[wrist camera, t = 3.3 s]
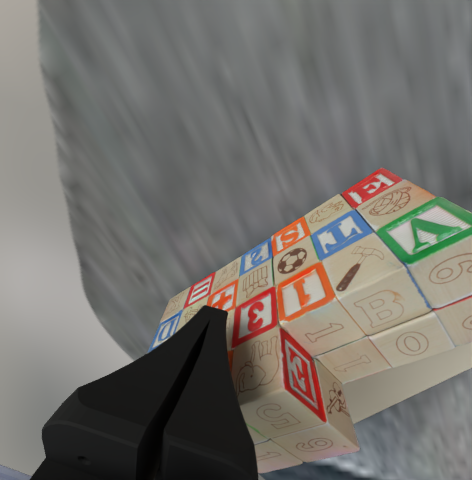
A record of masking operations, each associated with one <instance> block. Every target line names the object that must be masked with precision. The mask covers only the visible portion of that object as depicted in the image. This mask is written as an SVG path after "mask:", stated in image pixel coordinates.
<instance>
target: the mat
mask: <svg viewBox="0 0 472 480" xmlns="http://www.w3.org/2000/svg"><path fill="white" fill-rule="evenodd" d="M470 368H472V342H470V343H467V344H464V345H460V346H456V347H455V348H453V349H452V350H449V351H446V352H442V353H439V354H436V355H433V356H430V357H427V358H423V359H420V360H417V361H414V362H411V363H408V364H405V365H402V366H399V367H396V368H389V369H387V370H384V371H381V372H378V373H375V374H372V375H369V376H366V377H363V378H361V379H358V380H355V381H351V382H348V383H345V384H343V385H342V386H343V389H344V393H345V397H346V401H347V404H348V408H349V411H350V415H351V418H352V422H353V424H355V423H357V422H359V421H361V420H363V419H365V418H367V417H369V416H371V415H373V414H375V413H378V412H380V411H382V410H384V409H386V408H388V407H390V406H392V405H394V404H396V403H399V402H401V401H403V400H405V399H407V398H409V397H411V396H413V395H415V394H417V393H420V392H422V391H424V390H426V389H428V388H430V387H432V386H434V385H436V384H438V383H441V382H443V381H445V380H447V379H449V378H451V377H453V376H455V375H457V374H459V373H461V372H464V371H466V370H468V369H470Z"/></svg>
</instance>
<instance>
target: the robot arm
mask: <svg viewBox="0 0 472 480" xmlns="http://www.w3.org/2000/svg"><path fill="white" fill-rule="evenodd" d="M227 317H228V312H227V311H225V310H221V309H218V308H214V307H211V306H207V305H204V306H202V307H201V309H200V310H199V311H198V312H197V313H196V314H195V315H194V316H193V317H192V318H191V319H190V320H189V321H188V322H187V323H186V324H185V325H184V326H183V327H181V328H180V329H179V330H178V331H177V332H176V333H174V334H173V335H172V336H171V337H169V338H168V339H167V340H166V341H164V342H163V343H162V344H160V345H159V346H158V347H156V348H155V349H153V350H152V351H150V352H149V353H147V354H145V355H144V356H142V357H141V358H139V359H137V360H136V361H134V362H132V363H130V364H129V365H127V366H125V367H123V368H121V369H119V370H117V371H115V372H113V373H111V374H109V375H107V376H105V377H102V378H100V379H98V380H95V381H93V382H91V383H88V384H86V385H83V386H81V387H79V388H77V389H76V390H75V391H74V392H73V393H72V394H71V395H70V396H69V397H68V398H67V399H66V400H65V401H64V403H62V405H61V406H60V407H59V408H58V410H57V411H56V412H55V413H54V414H53V415H52V417H51V418H50V419H49V420H48V421H47V423H46V424H45V425H44V427H43V429H42V440H43V445H44V449H45V454H46V458H45V460H44V461H43V462H42V464H41V465H40V467H39V468H38V469H37V470H36V472H35V473H34V474H33V476H29V475H27V474H24V473H21V472H19V471H16V470H13V469H11V468H8V467H5V466H2V465H0V480H258V467H257V459H256V452H255V446H254V442H253V440H252V437H251V435H250V433H249V430H248V427H247V425H246V422H245V420H244V417H243V414H242V411H241V408H240V405H239V401H238V398H237V395H236V391H235V388H234V384H233V380H232V375H231V370H230V365H229V358H228V351H227V338H226V324H227Z"/></svg>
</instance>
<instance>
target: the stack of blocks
mask: <svg viewBox="0 0 472 480" xmlns="http://www.w3.org/2000/svg"><path fill="white" fill-rule="evenodd" d="M204 305H207V306H211V307H214V308H218V309H221V310H225V311H227V312H228V317H227V324H226V338H227V351H228V358H229V365H230V370H231V375H232V380H233V384H234V388H235V391H236V395H237V398H238V401H239V405H240V408H241V411H242V414H243V417H244V420H245V422H246V425H247V427H248V430H249V433H250V435H251V437H252V440H253V442H254V446H255V452H256V459H257V467H258V473H265V472H269V471H273V470H278V469H283V468H287V467H291V466H295V465H300V464H302V463H303V461H305V462H312V461H316V460H321V459H325V458H330V457H334V456H339V455H343V454H348V453H353V452H357V451H359V450H360V446H359V443H358V440H357V436H356V433H355V429H354V425H353V422H352V418H351V415H350V411H349V408H348V404H347V401H346V397H345V393H344V389H343V386H342V385H343V384H345V383H348V382H351V381H355V380H358V379H361V378H363V377H366V376H369V375H372V374H375V373H378V372H381V371H384V370H387V369H389V368H396V367H399V366H402V365H405V364H408V363H411V362H414V361H417V360H420V359H423V358H427V357H430V356H433V355H436V354H439V353H442V352H446V351H449V350H452V349H453V348H455V347H456V346H460V345H464V344H467V343H470V342H472V213H471V212H469V211H467V210H465V209H463V208H461V207H459V206H458V205H456V204H454V203H452V202H450V201H448V200H446V199H444V198H443V197H435V196H434V195H432V194H431V193H429V192H428V191H426V190H424V189H422V188H420V187H419V186H417V185H415V184H413V183H411V182H410V181H408V180H403V179H402V178H400V177H398V176H396V175H395V174H393V173H391V172H390V171H388V170H386V169H384V168H380V169H378V170H377V171H375V172H374V173H372V174H371V175H369V176H368V177H366V178H365V179H363V180H362V181H360V182H358V183H357V184H355V185H354V186H352V187H351V188H349V189H348V190H346V191H344V192H343V193H342V194H341V195H340V194H338V195H336V196H334V197H333V198H331V199H330V200H328V201H326V202H325V203H323V204H322V205H320V206H319V207H317V208H315V209H314V210H312V211H311V212H309V213H308V214H306V215H305V216H304V217H301V218H299V219H298V220H296V221H294V222H293V223H291V224H290V225H288V226H286V227H285V228H283V229H282V230H280V231H278V232H277V233H275V234H274V235H272V237H271V238H269V239H267V240H266V241H264V242H263V243H261V244H259V245H258V246H256V247H255V248H253V249H251V250H250V251H248V252H247V253H245V254H244V255H243V256H241V257H239V258H237V259H236V260H234V261H233V262H231V263H229V264H228V265H226V266H225V267H223V268H222V269H220V270H218V271H217V272H214V273H212V274H210V275H209V276H207V277H205V278H204V279H202V280H201V281H199V282H197V283H196V284H194V285H193V286H192V287H189V288H187V289H186V290H184V291H183V292H181V293H179V294H178V295H176V296H175V297H173V298H172V299H170V301H169V303H168V305H167V308H166V310H165V312H164V314H163V317H162V319H161V321H160V325H159V327H158V329H157V332H156V334H155V336H154V339H153V341H152V343H151V345H150V348H149V350H148V352H147V353H149V352H150V351H152V350H153V349H155V348H156V347H158V346H159V345H160V344H162V343H163V342H164V341H166V340H167V339H168V338H169V337H171V336H172V335H173V334H174V333H176V332H177V331H178V330H179V329H180V328H181V327H183V326H184V325H185V324H186V323H187V322H188V321H189V320H190V319H191V318H192V317H193V316H194V315H195V314H196V313H197V312H198V311H199V310H200V309H201V307H202V306H204Z"/></svg>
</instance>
